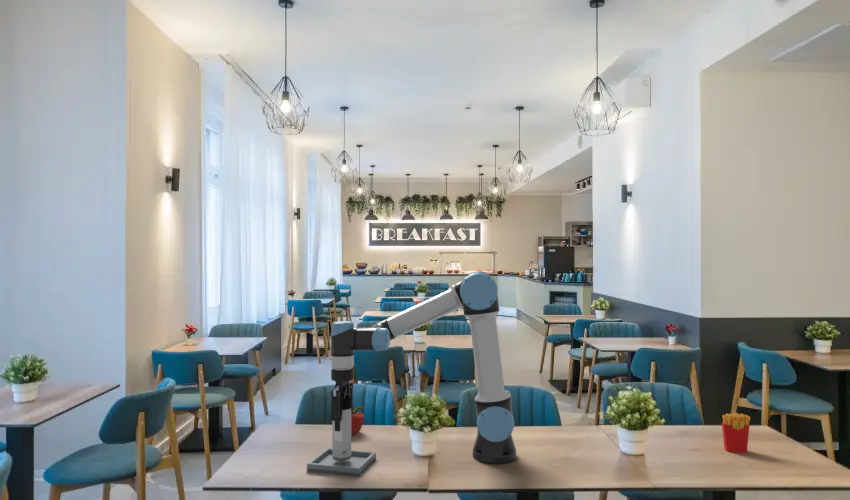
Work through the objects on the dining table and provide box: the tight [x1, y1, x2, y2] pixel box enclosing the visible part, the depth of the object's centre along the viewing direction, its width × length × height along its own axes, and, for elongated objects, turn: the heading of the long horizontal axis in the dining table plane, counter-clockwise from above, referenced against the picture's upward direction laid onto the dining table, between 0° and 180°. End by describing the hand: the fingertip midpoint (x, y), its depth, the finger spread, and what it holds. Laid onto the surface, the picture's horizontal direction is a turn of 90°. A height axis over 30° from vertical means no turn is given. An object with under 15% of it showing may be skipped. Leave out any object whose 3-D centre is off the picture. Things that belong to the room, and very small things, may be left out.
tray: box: [306, 447, 377, 477], centre depth 192 cm, size 18×16×2 cm
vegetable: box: [351, 405, 365, 436], centre depth 227 cm, size 11×10×10 cm
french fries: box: [721, 412, 751, 454], centre depth 205 cm, size 9×4×13 cm, turn 85°
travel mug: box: [331, 398, 352, 461], centre depth 192 cm, size 6×7×20 cm
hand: (342, 437), depth 192 cm, fingers closed on travel mug, 6 cm apart
